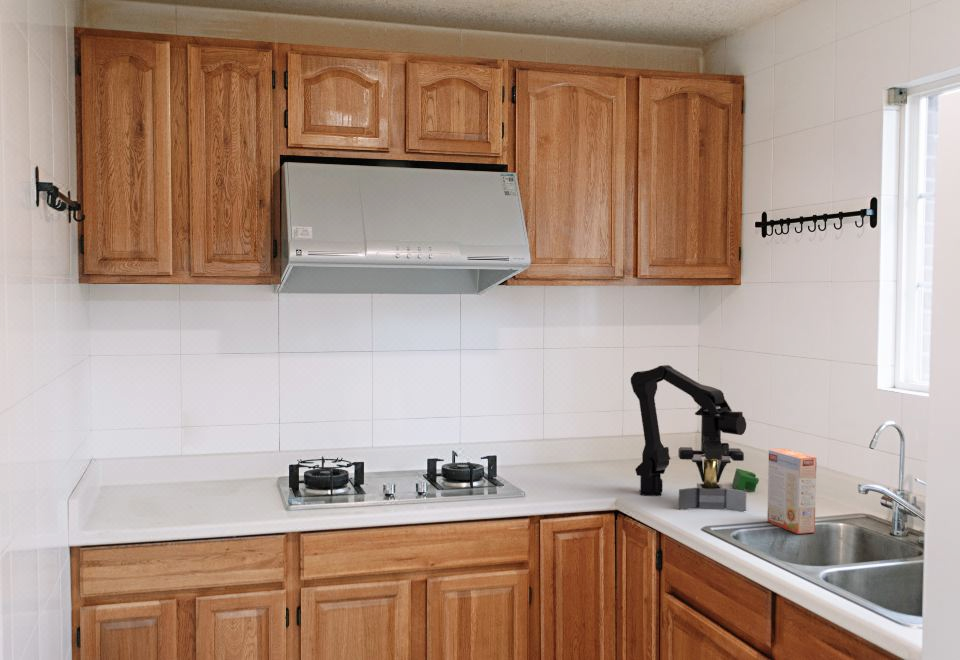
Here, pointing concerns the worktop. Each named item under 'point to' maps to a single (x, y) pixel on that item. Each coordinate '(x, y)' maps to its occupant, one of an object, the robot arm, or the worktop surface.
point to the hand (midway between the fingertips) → (710, 482)
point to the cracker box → (792, 490)
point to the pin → (710, 473)
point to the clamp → (745, 480)
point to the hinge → (712, 498)
